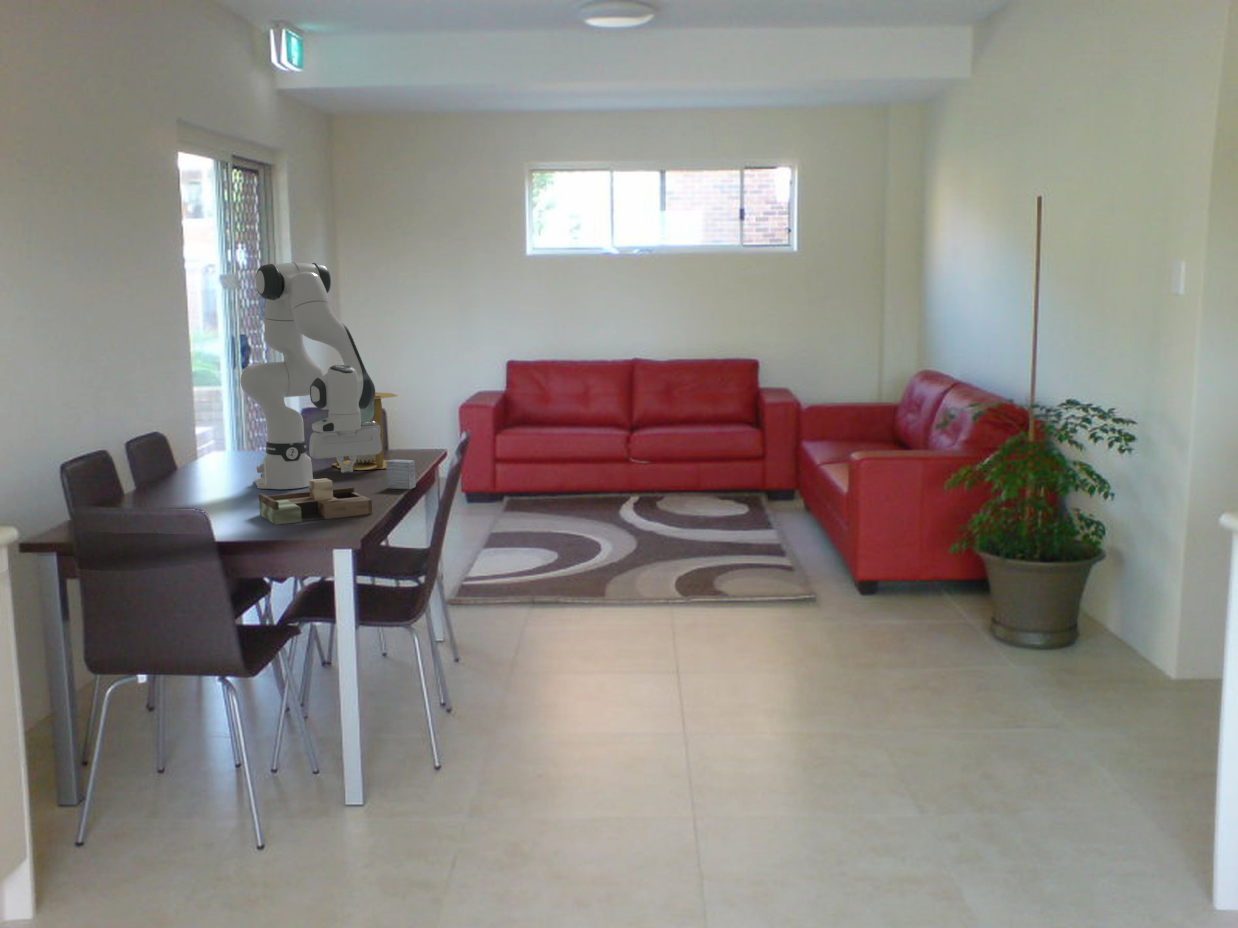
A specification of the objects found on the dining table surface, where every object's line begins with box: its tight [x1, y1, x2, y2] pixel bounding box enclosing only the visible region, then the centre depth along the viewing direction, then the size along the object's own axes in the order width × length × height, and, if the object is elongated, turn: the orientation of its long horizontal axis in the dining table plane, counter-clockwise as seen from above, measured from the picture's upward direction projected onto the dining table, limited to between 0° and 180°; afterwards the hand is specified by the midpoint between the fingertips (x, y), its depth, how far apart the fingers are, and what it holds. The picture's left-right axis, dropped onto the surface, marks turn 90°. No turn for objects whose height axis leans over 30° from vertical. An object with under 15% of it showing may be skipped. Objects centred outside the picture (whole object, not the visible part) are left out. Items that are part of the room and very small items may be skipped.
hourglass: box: [331, 391, 399, 471], centre depth 410 cm, size 24×22×25 cm
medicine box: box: [385, 459, 417, 490], centre depth 369 cm, size 8×4×9 cm, turn 74°
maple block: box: [308, 477, 334, 500], centre depth 332 cm, size 5×5×5 cm
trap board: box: [258, 487, 373, 526], centre depth 330 cm, size 15×27×6 cm, turn 122°
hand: (347, 472), depth 335 cm, fingers closed
